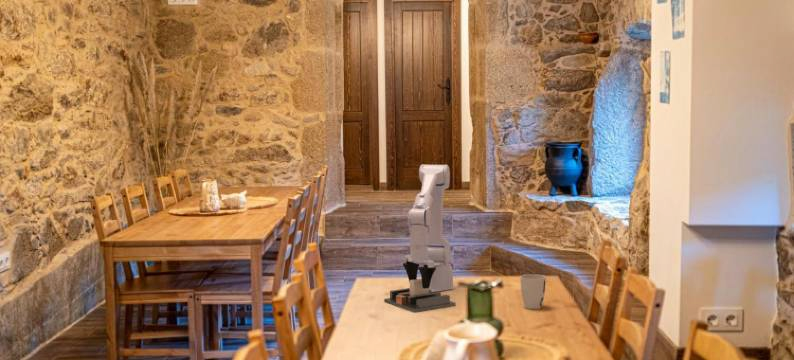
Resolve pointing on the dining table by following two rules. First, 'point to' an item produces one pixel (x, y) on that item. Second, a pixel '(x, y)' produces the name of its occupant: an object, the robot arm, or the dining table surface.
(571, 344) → the dining table surface
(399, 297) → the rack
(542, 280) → the cup
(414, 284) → the tall beige block
